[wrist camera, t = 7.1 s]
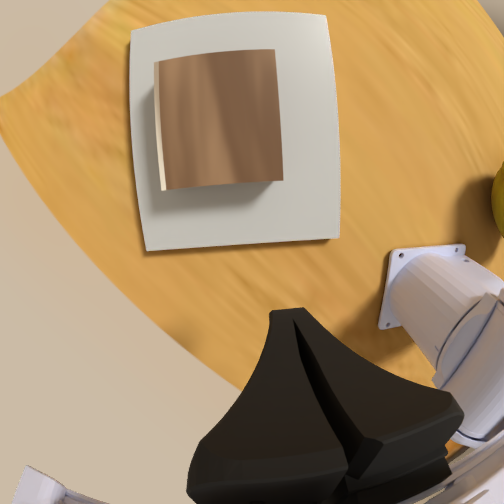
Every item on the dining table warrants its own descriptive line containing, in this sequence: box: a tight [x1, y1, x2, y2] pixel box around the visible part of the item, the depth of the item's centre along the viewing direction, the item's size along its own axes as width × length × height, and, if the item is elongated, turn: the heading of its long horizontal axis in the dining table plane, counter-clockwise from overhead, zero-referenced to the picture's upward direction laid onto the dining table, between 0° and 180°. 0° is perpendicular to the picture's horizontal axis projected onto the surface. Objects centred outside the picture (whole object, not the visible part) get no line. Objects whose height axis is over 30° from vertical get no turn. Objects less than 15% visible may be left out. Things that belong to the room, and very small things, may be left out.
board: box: [130, 12, 340, 251], centre depth 16 cm, size 14×17×1 cm
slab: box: [154, 49, 284, 191], centre depth 15 cm, size 3×8×7 cm
